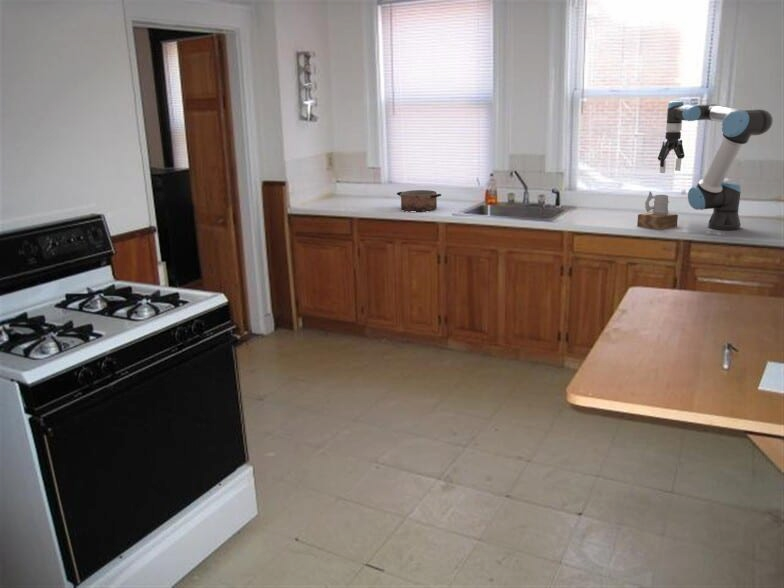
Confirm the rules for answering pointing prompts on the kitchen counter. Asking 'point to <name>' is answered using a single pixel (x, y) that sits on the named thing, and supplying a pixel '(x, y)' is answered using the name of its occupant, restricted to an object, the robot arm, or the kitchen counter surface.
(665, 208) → the mug
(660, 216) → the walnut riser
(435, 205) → the cooking pot
